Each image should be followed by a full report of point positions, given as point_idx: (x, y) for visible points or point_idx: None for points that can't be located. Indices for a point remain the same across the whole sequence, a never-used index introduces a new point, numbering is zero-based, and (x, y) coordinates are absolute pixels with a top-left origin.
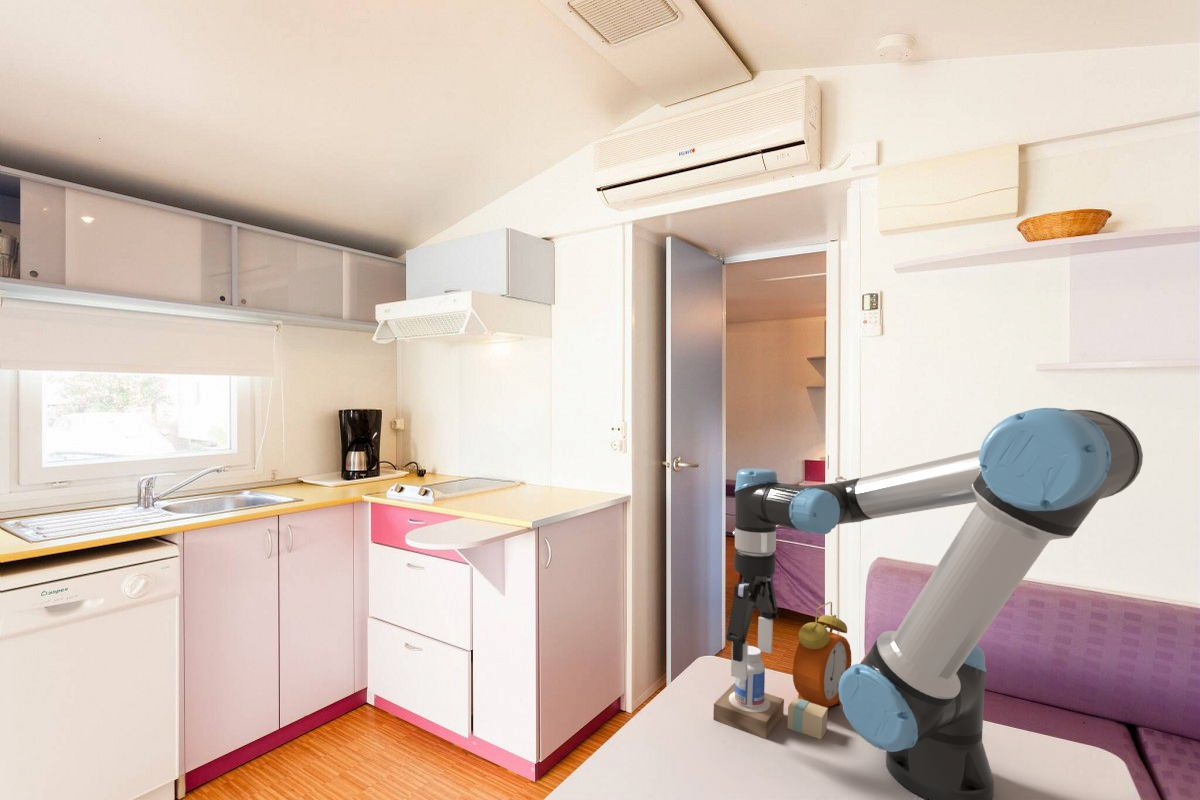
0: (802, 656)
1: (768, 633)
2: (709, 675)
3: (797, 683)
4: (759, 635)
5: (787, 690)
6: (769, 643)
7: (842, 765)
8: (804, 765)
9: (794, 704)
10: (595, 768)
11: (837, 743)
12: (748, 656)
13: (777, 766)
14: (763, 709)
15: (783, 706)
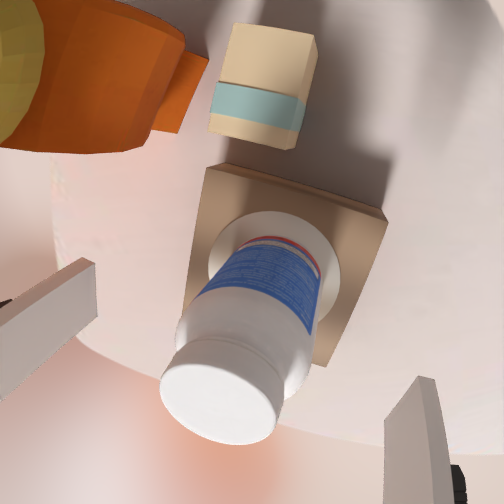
0: (68, 114)
1: (28, 323)
2: (133, 344)
3: (148, 128)
4: (52, 349)
5: (101, 166)
6: (62, 292)
7: (419, 16)
8: (463, 111)
9: (258, 128)
10: (493, 451)
11: (317, 15)
12: (279, 413)
13: (488, 182)
14: (311, 232)
15: (218, 165)
